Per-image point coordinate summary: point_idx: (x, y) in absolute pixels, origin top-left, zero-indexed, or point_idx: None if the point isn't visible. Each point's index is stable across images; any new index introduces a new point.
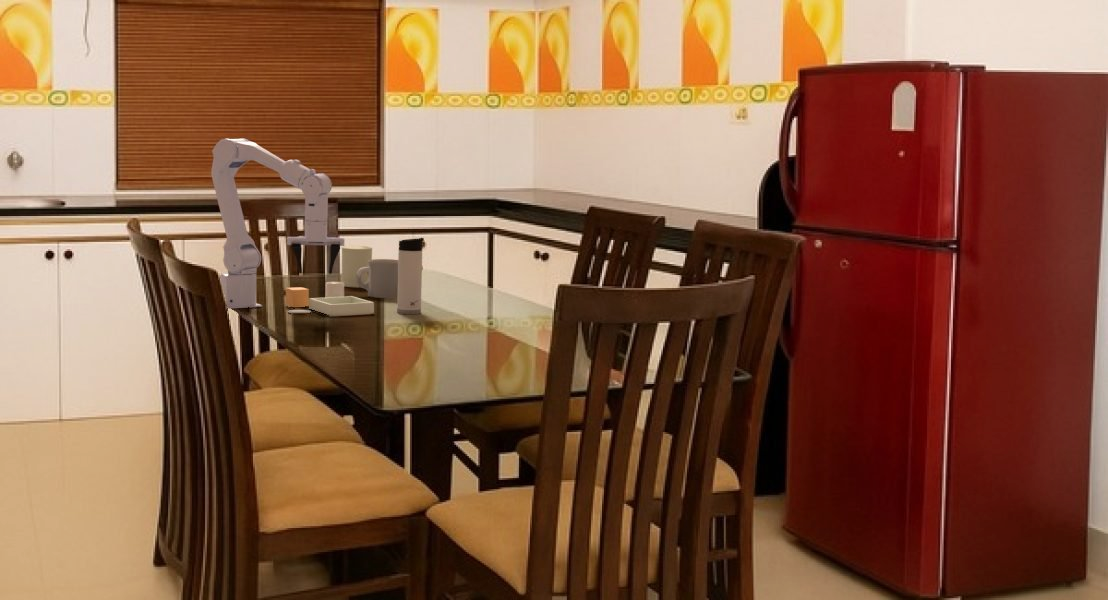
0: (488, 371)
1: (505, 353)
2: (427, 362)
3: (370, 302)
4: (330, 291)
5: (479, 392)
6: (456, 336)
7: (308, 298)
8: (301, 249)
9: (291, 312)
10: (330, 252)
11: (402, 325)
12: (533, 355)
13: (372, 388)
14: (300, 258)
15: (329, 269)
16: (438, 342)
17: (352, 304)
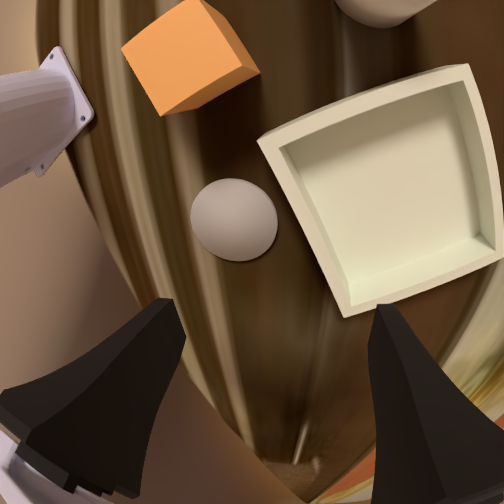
0: None
1: None
2: (370, 481)
3: (494, 258)
4: (368, 1)
5: (365, 498)
6: None
7: (252, 70)
8: (139, 489)
9: (208, 249)
10: (378, 494)
11: (462, 378)
12: None
13: (309, 498)
14: (146, 425)
15: (370, 372)
16: None
17: (429, 286)
